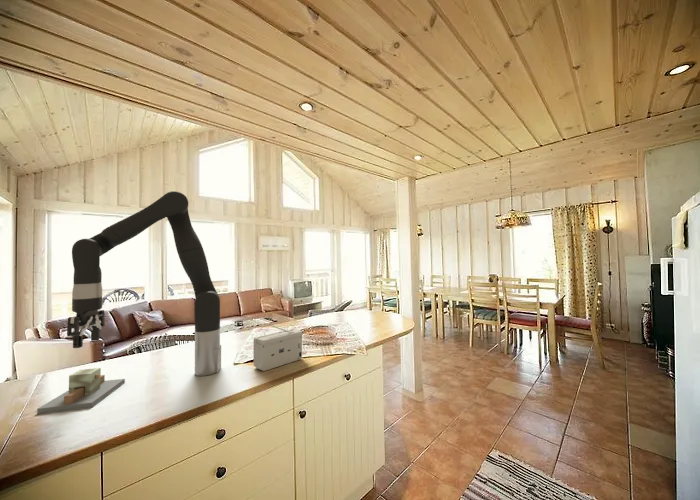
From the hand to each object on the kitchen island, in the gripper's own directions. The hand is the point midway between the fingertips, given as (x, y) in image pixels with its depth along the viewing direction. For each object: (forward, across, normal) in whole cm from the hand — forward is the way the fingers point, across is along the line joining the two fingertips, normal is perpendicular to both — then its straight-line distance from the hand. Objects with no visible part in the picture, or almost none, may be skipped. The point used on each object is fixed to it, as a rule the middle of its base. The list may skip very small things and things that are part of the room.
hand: (87, 343), depth 94 cm
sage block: (+16, 0, 0) cm, 16 cm away
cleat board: (+18, 0, 0) cm, 18 cm away
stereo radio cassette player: (+18, +13, -64) cm, 68 cm away
